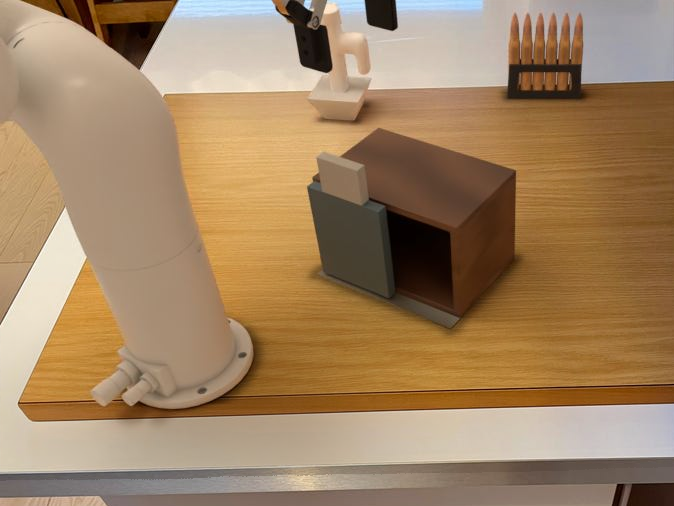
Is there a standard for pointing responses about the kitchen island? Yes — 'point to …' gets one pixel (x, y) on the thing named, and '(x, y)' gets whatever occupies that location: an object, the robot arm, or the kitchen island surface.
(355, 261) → the grey sliding door
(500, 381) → the kitchen island surface
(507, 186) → the cabinet
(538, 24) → the ammunition clip
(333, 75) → the figurine
